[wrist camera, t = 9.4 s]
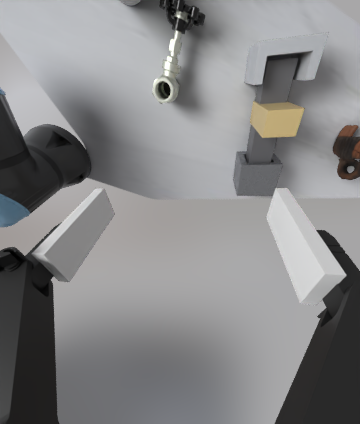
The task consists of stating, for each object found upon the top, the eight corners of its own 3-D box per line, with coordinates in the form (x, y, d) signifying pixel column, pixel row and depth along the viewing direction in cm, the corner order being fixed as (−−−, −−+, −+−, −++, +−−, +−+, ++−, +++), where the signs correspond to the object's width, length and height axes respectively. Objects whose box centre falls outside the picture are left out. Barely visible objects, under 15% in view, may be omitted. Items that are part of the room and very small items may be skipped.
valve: (183, 106, 34) (205, 20, 27) (178, 111, 29) (205, 8, 22) (151, 94, 34) (165, 3, 26) (141, 98, 29) (155, -13, 21)
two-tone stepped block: (243, 163, 38) (252, 186, 30) (259, 62, 27) (279, 58, 20) (264, 162, 37) (279, 186, 30) (289, 59, 27) (322, 54, 19)
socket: (244, 82, 31) (253, 84, 24) (248, 48, 28) (259, 40, 22) (292, 78, 29) (314, 79, 23) (301, 41, 26) (329, 32, 20)
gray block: (233, 179, 43) (236, 195, 37) (236, 151, 38) (241, 165, 33) (264, 179, 42) (273, 195, 36) (271, 150, 37) (283, 164, 32)
